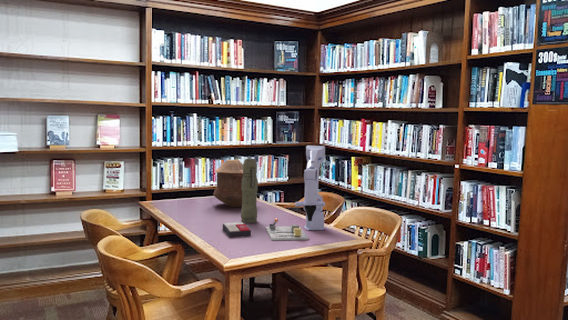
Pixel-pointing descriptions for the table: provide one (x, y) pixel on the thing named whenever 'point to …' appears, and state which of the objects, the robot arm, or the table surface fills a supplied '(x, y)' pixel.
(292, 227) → the slider grey
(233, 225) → the red and grey box
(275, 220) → the toggle lever
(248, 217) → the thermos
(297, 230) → the slider brass
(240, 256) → the table surface
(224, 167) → the pottery vessel
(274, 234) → the panel
